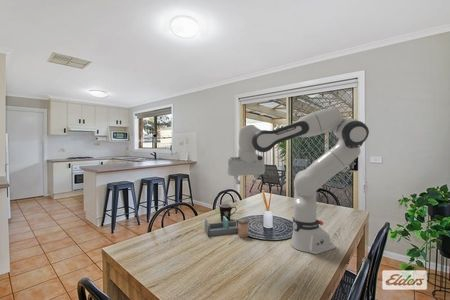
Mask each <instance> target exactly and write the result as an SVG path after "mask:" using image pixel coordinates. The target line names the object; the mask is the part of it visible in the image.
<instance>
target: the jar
mask: <svg viewBox="0 0 450 300" xmlns="http://www.w3.org/2000/svg"><path fill="white" fill-rule="evenodd" d="M249 221H250V220H249V219H248V218H244V217H243V218H238V219H237V227H238V233H237V237H239V238H242V239H245V238H248V237H249V223H250V222H249Z"/></svg>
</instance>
